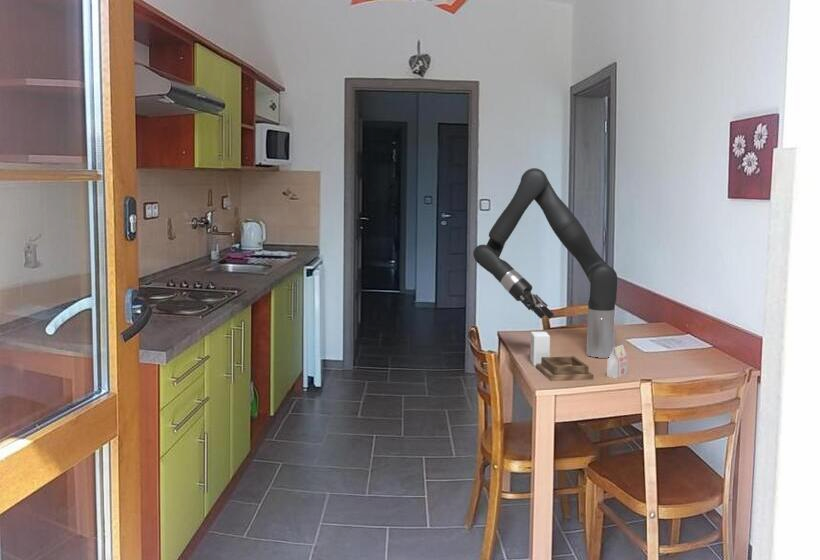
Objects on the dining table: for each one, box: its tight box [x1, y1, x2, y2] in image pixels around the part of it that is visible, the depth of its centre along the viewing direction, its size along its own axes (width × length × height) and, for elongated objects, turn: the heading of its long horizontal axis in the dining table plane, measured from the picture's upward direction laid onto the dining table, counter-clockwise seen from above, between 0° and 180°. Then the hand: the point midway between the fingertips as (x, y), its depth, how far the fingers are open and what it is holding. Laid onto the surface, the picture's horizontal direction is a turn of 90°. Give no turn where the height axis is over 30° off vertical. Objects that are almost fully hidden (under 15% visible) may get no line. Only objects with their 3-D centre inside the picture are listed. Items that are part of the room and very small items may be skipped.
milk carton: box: [606, 344, 628, 379], centre depth 235 cm, size 4×7×10 cm, turn 139°
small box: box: [529, 331, 551, 367], centre depth 251 cm, size 8×6×10 cm
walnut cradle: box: [535, 355, 595, 382], centre depth 238 cm, size 14×16×4 cm
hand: (547, 316), depth 253 cm, fingers open, 8 cm apart
